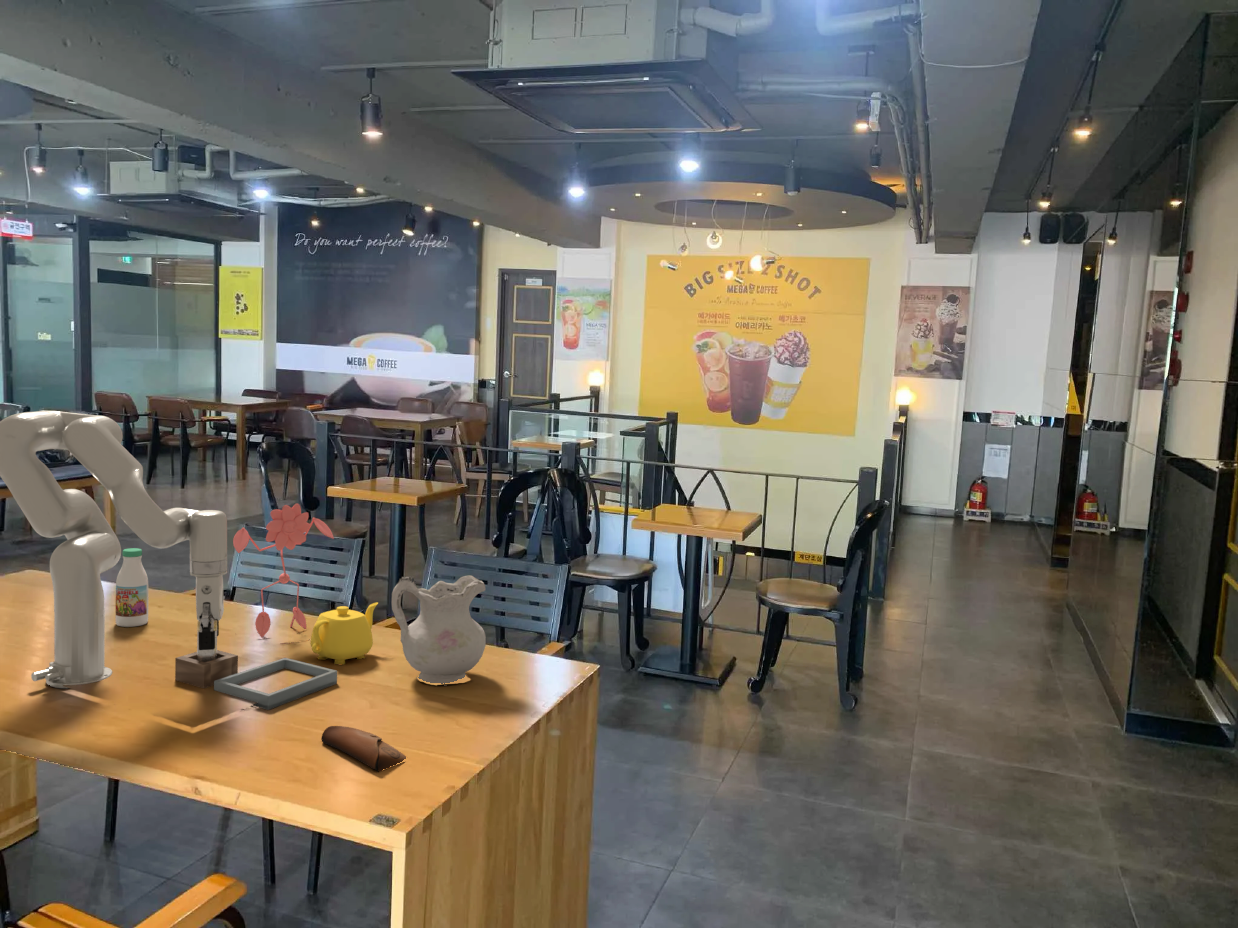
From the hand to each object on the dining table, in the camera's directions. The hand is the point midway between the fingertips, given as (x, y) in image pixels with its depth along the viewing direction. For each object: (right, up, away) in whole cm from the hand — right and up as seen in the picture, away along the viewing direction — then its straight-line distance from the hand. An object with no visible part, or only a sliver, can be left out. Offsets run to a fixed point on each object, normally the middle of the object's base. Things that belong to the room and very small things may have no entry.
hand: (209, 642), depth 208 cm
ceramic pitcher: (+48, -11, +13) cm, 51 cm away
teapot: (+23, -8, +25) cm, 35 cm away
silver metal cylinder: (-1, -8, +1) cm, 8 cm away
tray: (+15, -10, 0) cm, 18 cm away
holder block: (-1, -9, +1) cm, 9 cm away
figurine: (+3, -6, +39) cm, 39 cm away
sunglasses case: (+43, -16, -30) cm, 55 cm away
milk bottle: (-39, -3, +42) cm, 57 cm away
